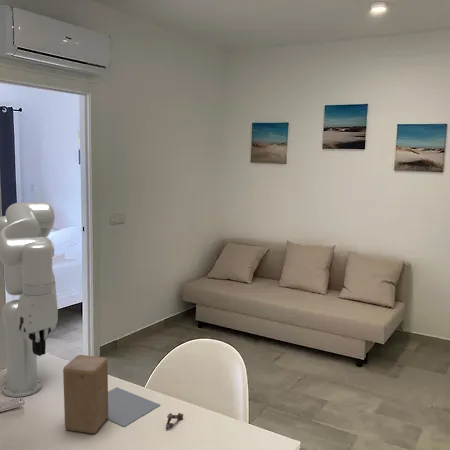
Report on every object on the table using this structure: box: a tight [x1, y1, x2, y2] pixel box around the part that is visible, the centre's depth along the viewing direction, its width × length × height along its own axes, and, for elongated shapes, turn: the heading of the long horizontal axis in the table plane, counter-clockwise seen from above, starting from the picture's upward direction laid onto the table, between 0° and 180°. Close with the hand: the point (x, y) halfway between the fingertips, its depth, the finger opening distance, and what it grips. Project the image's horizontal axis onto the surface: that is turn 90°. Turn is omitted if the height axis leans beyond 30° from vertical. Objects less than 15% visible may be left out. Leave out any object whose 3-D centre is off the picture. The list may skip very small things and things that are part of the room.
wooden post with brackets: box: [165, 412, 184, 430], centre depth 153 cm, size 2×8×4 cm, turn 152°
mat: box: [106, 387, 161, 428], centre depth 163 cm, size 20×16×1 cm
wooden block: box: [62, 354, 109, 434], centre depth 150 cm, size 10×10×20 cm
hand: (39, 353), depth 136 cm, fingers closed
